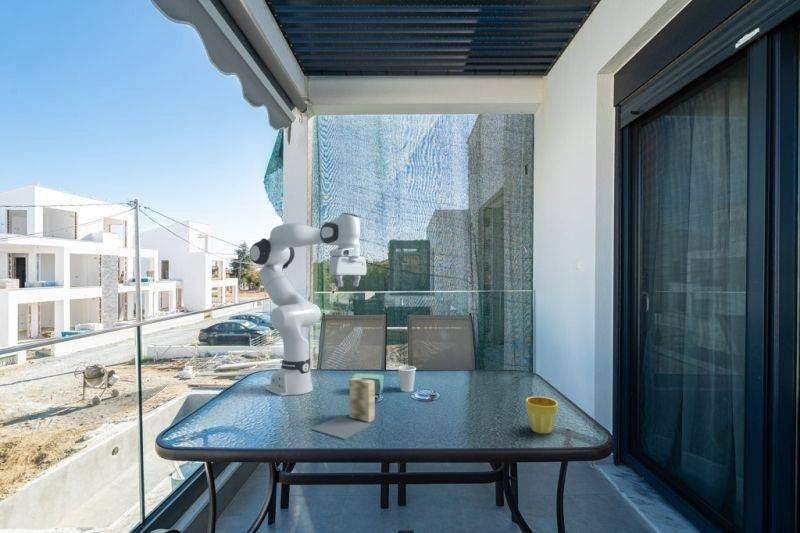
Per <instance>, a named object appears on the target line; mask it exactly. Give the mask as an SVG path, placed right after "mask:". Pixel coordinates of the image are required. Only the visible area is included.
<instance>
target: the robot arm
mask: <svg viewBox="0 0 800 533" xmlns="http://www.w3.org/2000/svg"><path fill="white" fill-rule="evenodd" d="M360 237H361V221H360V217H359V216H358V215H356V214H354V213H348V212H342V213H340V214H339V216H337V217H336V218H334V219H333V220H330V221H327V222H324V224H322V225H321V227H320V228H317V227H313V226H309V225H306V224H301V223H294V222H293V223H292V222H291V223H284V224H280V225H277V226H275V227H273V228H272V229H271V230H270V235H269V238H268V239H266V238H265V237H264V238H262V239H260V241H257V242H255V243H254V244H253V245H252V246H251V247H250V250H249V258H250V260H251V262H252V263H254V264H255V265H260V266H262V267H261V268H260V270H259V272H258V276H259V280H260V282H261V284H262V286H263V288H264V290H265V292H266V293H267V295H268V296H269V298H270V300H271V302H272V303H273V304H274V305H275V306H277V307H275V308H273V309H271V310H272V311H271V312H270V314H269V322H270V325H271V326H272V328H273V329H275V330H276V331H277V332H278V333H279V335H280V336H281V339H282V344H283V359H282V360H280V361H279V362H280V363H279V364H281V367H279V369H278V370H276V371H275V372H274V373H272V375H271V377H270V384H268V385H266V386H264V388H265V390H266V391H269V392H271V393H273V394H276V395H278V396H280V397H281V396H282V397H283V396H297V395H305V394H308V393H310V392H312V391H313V390H314V383H313V380H312V373H311V368H310V367H311V358H310V342H309V340H308V339H307V337H305V336H303V334H302V332H301V331H302V330H301V328H308V327H312V326H314V325H316V324H317V323H319V322H320V320H321V318H322V317H321V316H322V312H321V308H320V307H319V306H318V304H315V303H313V302H311V301H309V300H308V299H306V298H304V297H303V296H302V295H301V294H300V293H298V291H296V289H295V288H294V287H293V285H292V284H291V283H290V280H289V279H288V277H286V274H284V272H283V270H285V269H287V268H288V267H289V266H290V265H291V263H292V262H293V261H294V258H295V255H296V254H295V248H301V247H305V246H306V247H307V246H314V245H317V244H318V245H319V244H326V245H330V246H338V247H336V248H334V249H331V250H330V251H329V256H330V258H329V264H328V271H329V272H328V273H329V274H330V276H335V278H336V280H337V284H338V285H337V286H338V288H344V286H345V285H344V284H345V281H343V276H354V281H352V286H353V287H359V285H360V284H359V282H360V280H361V279H362V278H361V276H366V275H367V273H368V272H367V271H368V270H367V269H368V268H367V260H366V257H365V255H364V254H363V253H361V243H360Z"/></svg>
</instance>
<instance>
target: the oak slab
mask: <svg viewBox="0 0 800 533" xmlns="http://www.w3.org/2000/svg"><path fill="white" fill-rule="evenodd" d="M348 383H349V418H350V419H351V418H352V419H354V420H355V419H356V420H358V421H364V422H365V423H370V422H372V421H374V420H375V416H376V414H375V412H376V411H375V408H376V406H375V405H376V404H375V402H376V400H375V399H376V398H375V397H376V395H375V381H373V380H368V379H363V378H357V377H355V378H352V379H351V378H349V382H348Z"/></svg>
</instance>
